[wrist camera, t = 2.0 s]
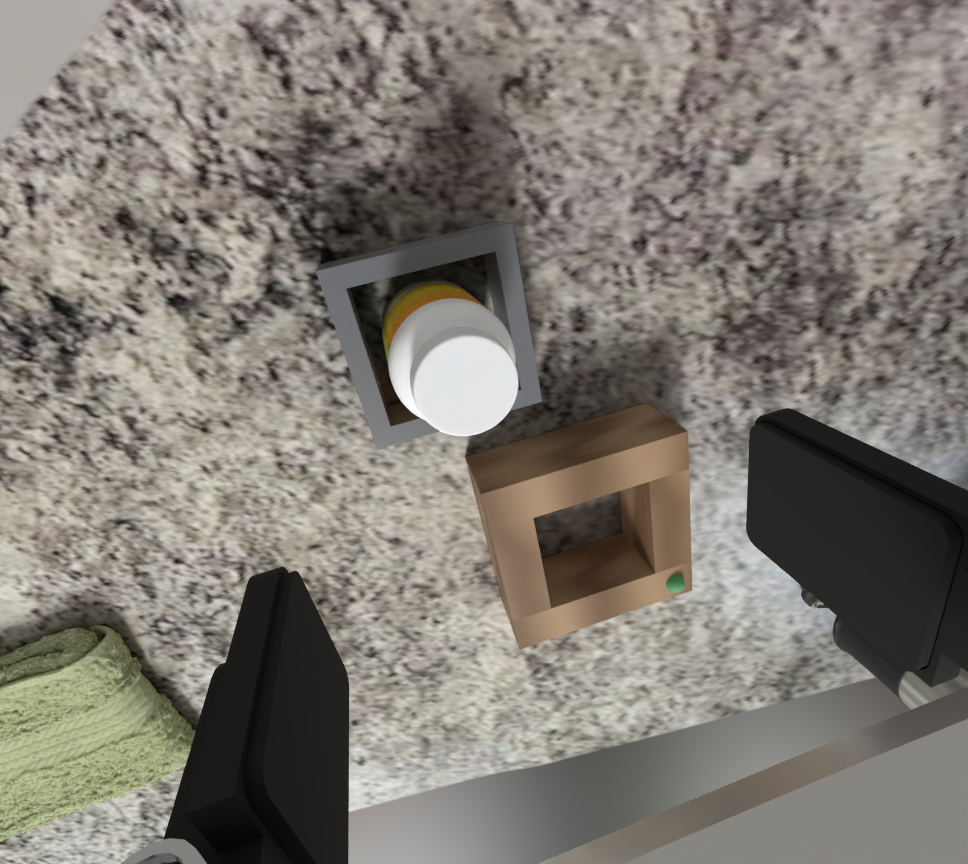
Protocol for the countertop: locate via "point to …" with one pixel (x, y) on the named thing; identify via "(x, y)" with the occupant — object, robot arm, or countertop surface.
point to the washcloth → (80, 727)
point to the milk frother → (888, 665)
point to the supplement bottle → (449, 357)
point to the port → (576, 479)
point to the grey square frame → (389, 262)
